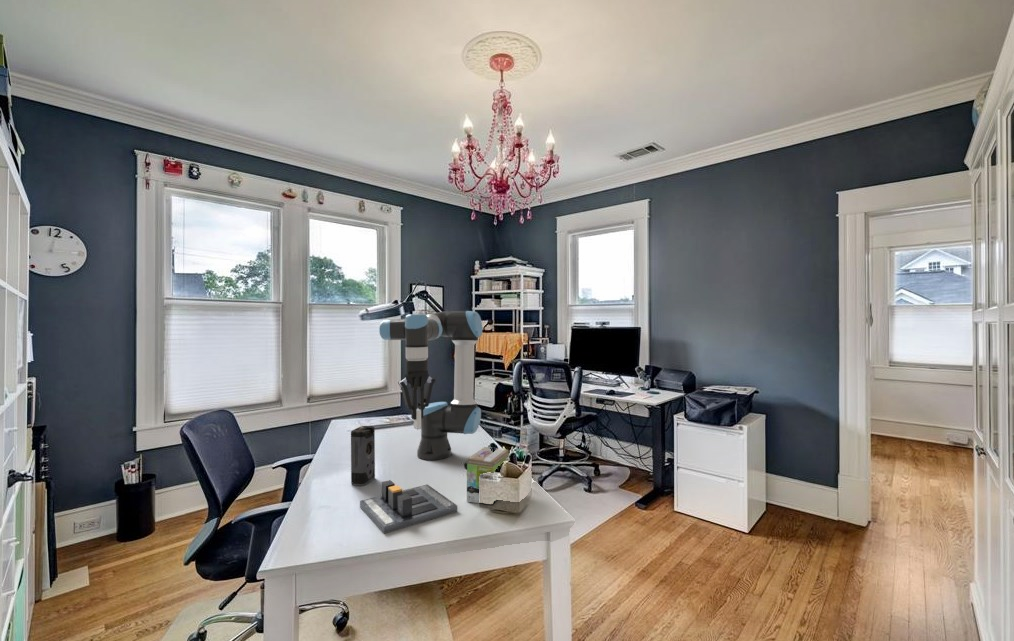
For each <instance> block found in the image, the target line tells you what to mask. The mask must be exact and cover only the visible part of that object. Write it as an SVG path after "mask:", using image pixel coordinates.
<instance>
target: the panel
mask: <svg viewBox="0 0 1014 641" xmlns="http://www.w3.org/2000/svg"><path fill="white" fill-rule="evenodd" d="M395 485H396V484H395V483H394V482H393V481H392V480H391V479H390V480H385V481H381V495H378V496H373V497H371V498H366V499H363V500H359V508H361V510H362V511H363V512H364V513H365V515H367V516H368V518H369V519H371V521H372V522H373V523H374V524H375V525H376V527H377V528H379V530H380V531H381V532H382V533H383V535H384V534H388V533H391V532H395V531H398V530H401V529H404V528H408V527H411V526H414V525H415V526H416V525H419V524H422V523H425V522H427V521H431V520H434V519H435V520H436V519H437V518H441V517H442V518H443V517H445V516H449V515H452V514H455V513H458V504H456V503H455V502H453V501H452V500H450V499H449V498H448V497H446V496H444V495H443V494H441V492H439V491H437V490H436V489H435V488H434V487H432V486H430V485H429V484H424V485H419V486H415V487H411V488H408V489H404V490H403V489H402V495H400V496H398V508H395V509H393V508H391V507H390V506H389V505H388V487H391V486H395Z"/></svg>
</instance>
